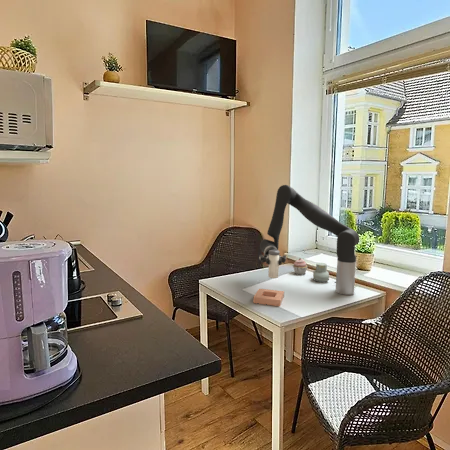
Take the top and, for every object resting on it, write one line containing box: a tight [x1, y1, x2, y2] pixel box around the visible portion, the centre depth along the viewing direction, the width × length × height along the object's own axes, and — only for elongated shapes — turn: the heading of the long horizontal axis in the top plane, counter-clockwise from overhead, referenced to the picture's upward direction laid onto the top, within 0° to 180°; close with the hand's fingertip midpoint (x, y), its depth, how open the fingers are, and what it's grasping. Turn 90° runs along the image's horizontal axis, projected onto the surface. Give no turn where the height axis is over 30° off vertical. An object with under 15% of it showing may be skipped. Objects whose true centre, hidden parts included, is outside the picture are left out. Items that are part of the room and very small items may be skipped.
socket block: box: [253, 288, 285, 307], centre depth 182 cm, size 13×13×3 cm
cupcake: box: [292, 257, 309, 276], centre depth 226 cm, size 9×9×10 cm
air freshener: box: [312, 262, 330, 283], centre depth 213 cm, size 11×8×10 cm
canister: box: [267, 249, 281, 279], centre depth 179 cm, size 5×5×13 cm
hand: (274, 262), depth 176 cm, fingers closed on canister, 4 cm apart
